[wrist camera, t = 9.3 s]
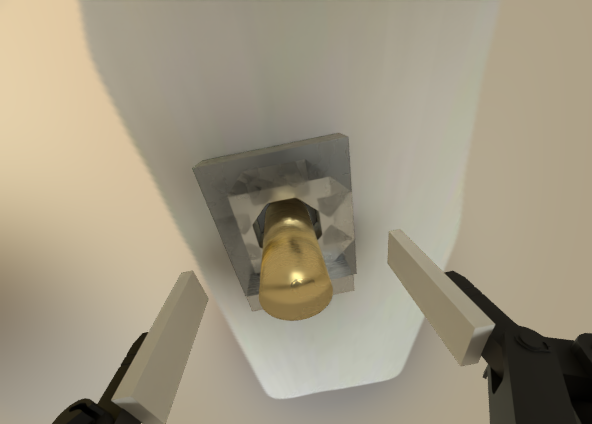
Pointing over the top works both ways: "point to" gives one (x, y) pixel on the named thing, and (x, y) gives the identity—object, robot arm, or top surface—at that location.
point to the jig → (279, 186)
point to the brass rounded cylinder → (292, 264)
